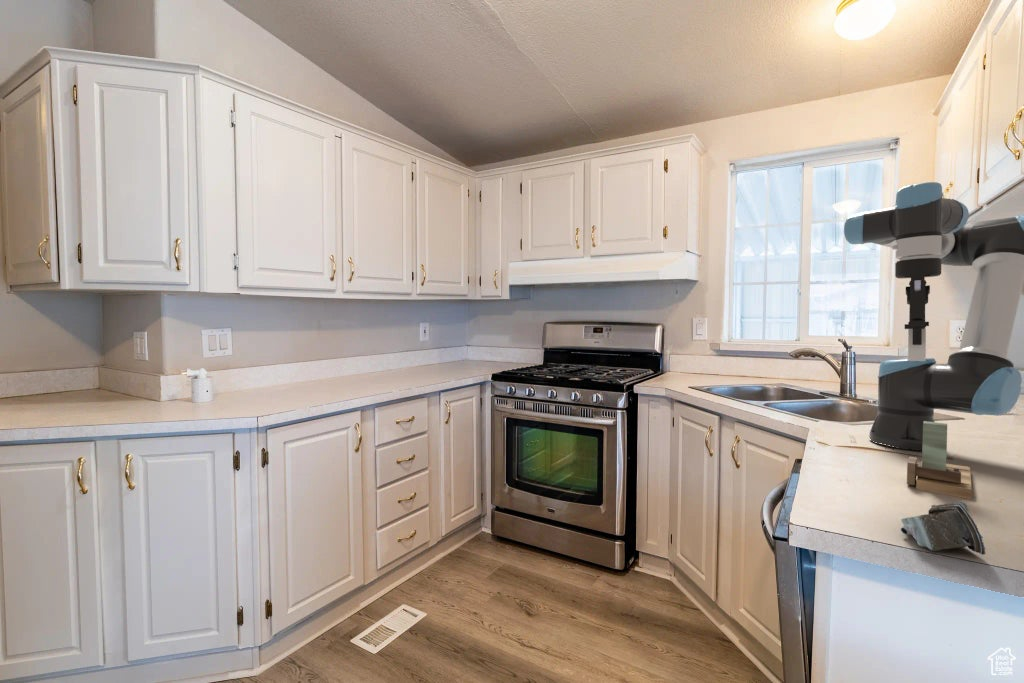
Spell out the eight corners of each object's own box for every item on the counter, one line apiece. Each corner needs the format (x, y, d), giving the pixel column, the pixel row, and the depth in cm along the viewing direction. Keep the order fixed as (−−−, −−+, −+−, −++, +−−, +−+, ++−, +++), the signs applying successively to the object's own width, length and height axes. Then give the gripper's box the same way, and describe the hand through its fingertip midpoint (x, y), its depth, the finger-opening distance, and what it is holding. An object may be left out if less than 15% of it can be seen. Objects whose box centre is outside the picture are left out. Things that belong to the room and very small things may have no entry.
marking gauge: (909, 477, 102) (910, 418, 102) (960, 485, 97) (962, 423, 96) (906, 484, 98) (908, 422, 97) (960, 493, 92) (962, 428, 92)
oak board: (921, 468, 111) (921, 459, 111) (969, 475, 106) (969, 466, 106) (916, 490, 96) (916, 480, 96) (971, 500, 91) (971, 489, 91)
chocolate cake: (882, 517, 82) (895, 489, 73) (929, 509, 80) (948, 479, 72) (917, 577, 75) (936, 554, 67) (970, 569, 73) (995, 544, 65)
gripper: (897, 264, 114) (897, 353, 115) (892, 256, 95) (892, 362, 96) (939, 260, 109) (938, 353, 110) (943, 251, 90) (942, 364, 92)
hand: (917, 358), depth 103 cm, fingers open, 13 cm apart
